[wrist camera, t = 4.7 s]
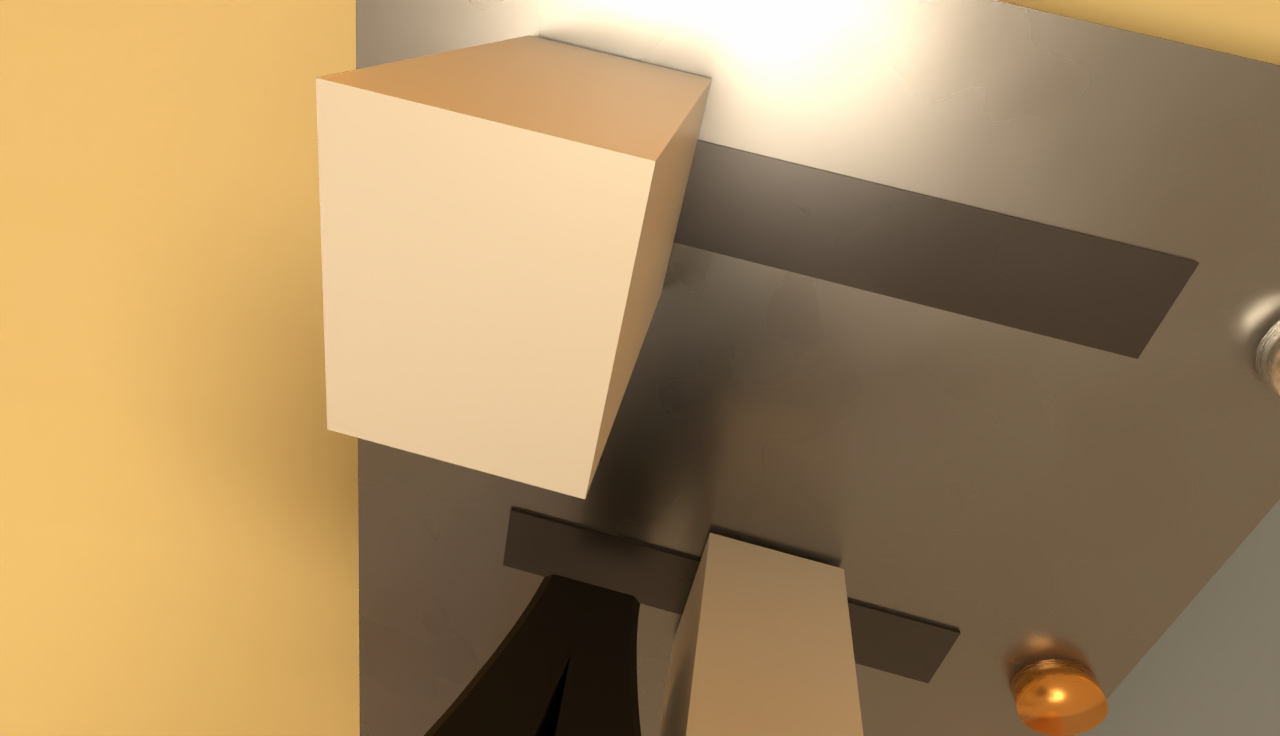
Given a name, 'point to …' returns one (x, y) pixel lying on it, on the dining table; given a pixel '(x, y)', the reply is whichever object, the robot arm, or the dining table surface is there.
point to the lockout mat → (1213, 656)
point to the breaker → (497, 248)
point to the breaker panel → (891, 357)
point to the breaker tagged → (762, 648)
